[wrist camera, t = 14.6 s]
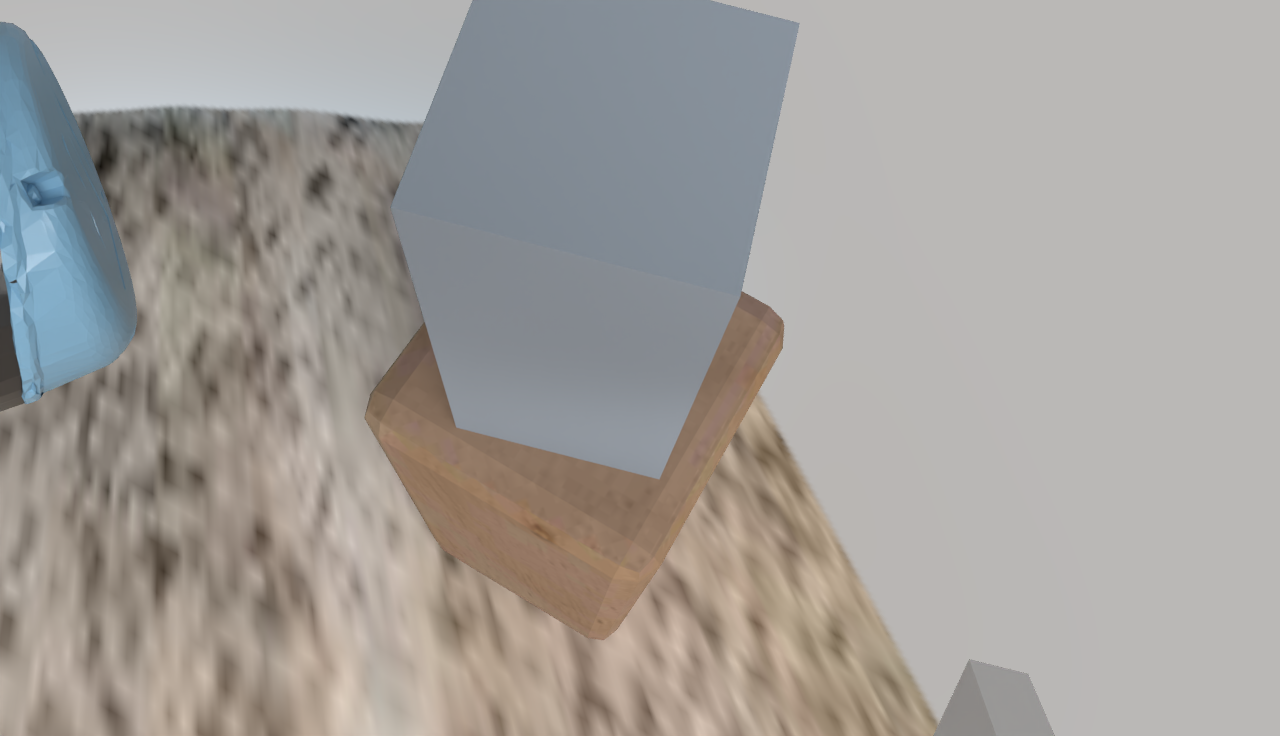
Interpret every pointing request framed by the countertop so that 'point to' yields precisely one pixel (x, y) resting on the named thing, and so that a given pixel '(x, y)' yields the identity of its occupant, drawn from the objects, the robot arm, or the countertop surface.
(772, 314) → the wooden block
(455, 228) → the slate block
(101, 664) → the countertop surface
